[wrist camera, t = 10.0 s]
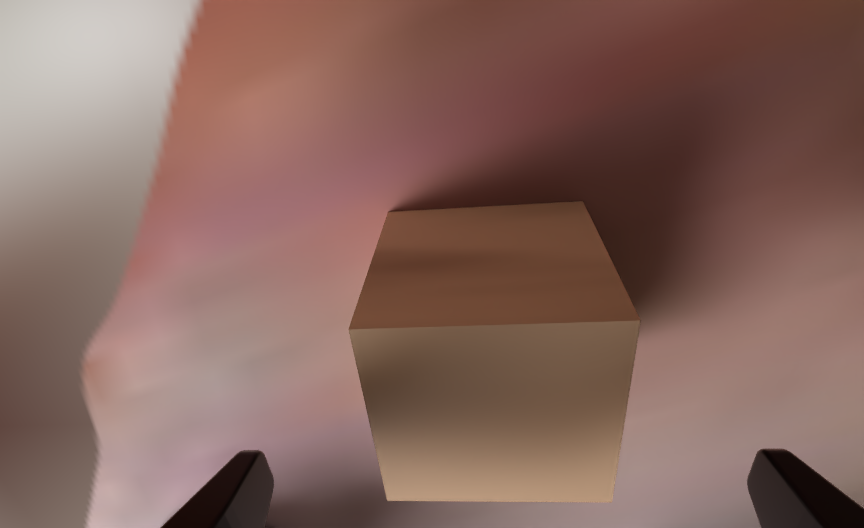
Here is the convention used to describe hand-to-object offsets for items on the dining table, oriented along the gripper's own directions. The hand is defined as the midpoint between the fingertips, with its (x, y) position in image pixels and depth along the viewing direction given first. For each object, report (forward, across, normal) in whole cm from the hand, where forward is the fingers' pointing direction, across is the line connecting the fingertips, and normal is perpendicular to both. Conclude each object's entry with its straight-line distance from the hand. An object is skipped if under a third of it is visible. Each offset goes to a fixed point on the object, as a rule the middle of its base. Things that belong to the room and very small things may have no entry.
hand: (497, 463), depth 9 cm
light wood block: (+6, 0, 0) cm, 6 cm away
